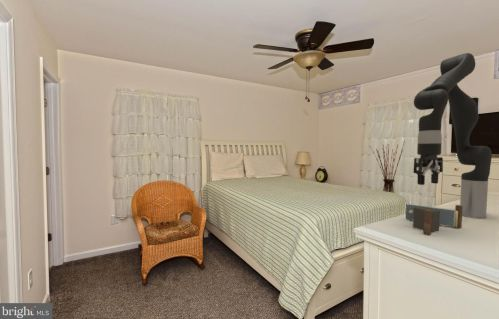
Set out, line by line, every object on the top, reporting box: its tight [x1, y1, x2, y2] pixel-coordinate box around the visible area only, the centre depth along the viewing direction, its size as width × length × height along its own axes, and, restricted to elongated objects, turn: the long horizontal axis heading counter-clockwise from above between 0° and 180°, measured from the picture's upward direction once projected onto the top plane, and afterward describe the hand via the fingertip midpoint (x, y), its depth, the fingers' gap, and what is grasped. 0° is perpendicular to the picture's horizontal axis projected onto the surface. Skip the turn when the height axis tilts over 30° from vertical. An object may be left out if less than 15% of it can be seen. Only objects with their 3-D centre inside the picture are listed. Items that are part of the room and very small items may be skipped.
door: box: [405, 203, 458, 228], centre depth 101 cm, size 18×3×6 cm, turn 48°
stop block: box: [412, 207, 440, 234], centre depth 95 cm, size 4×7×8 cm, turn 23°
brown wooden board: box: [423, 204, 463, 236], centre depth 93 cm, size 21×2×9 cm, turn 113°
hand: (427, 184), depth 95 cm, fingers open, 8 cm apart
